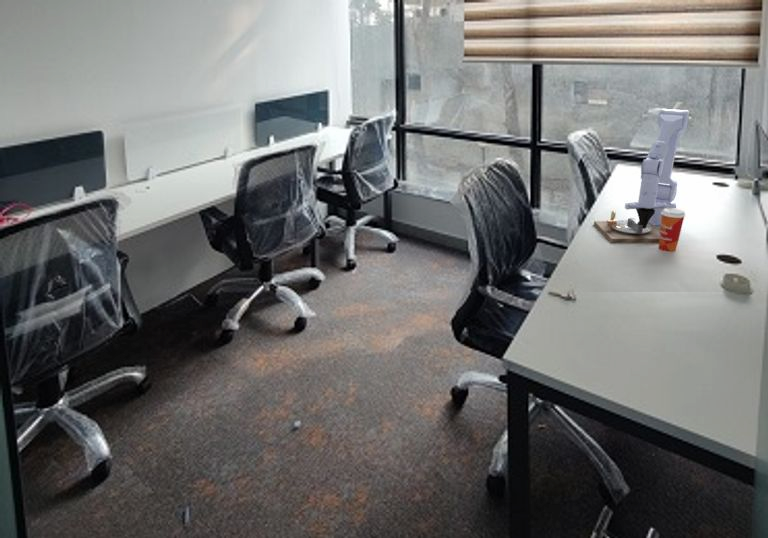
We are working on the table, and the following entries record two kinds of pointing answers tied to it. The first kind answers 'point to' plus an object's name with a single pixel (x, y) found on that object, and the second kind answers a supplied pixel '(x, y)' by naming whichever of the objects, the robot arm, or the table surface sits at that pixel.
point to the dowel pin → (613, 215)
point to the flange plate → (628, 226)
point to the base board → (627, 238)
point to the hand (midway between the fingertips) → (642, 227)
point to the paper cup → (670, 228)
